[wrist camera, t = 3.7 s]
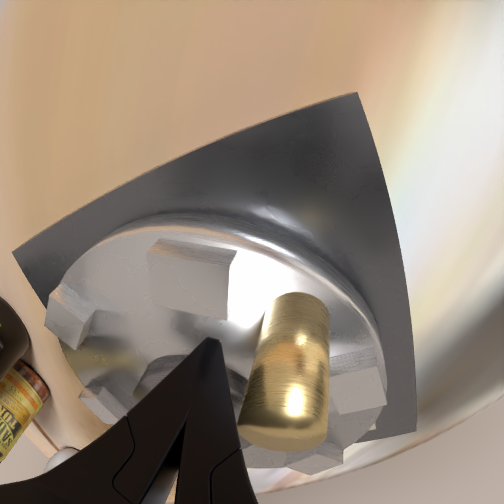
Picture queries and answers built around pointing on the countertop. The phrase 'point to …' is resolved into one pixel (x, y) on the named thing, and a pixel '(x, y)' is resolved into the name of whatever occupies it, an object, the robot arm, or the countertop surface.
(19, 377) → the sauce bottle
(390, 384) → the flat gray square plate
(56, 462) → the donut
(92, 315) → the lugged silver disc
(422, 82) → the countertop surface
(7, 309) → the supplement bottle
